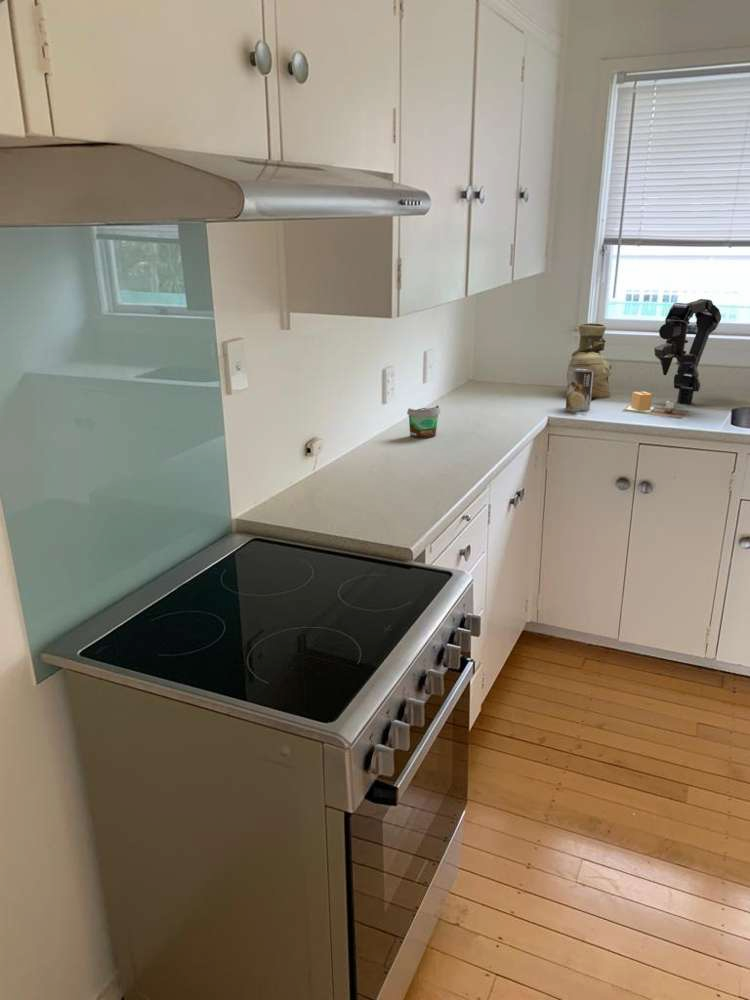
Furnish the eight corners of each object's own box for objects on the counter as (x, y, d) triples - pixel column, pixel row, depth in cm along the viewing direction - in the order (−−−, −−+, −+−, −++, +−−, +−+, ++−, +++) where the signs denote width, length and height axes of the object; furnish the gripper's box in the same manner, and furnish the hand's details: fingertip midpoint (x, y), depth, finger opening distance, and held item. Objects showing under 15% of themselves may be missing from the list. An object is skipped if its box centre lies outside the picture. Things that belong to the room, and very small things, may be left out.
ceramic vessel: (622, 395, 320) (631, 324, 309) (596, 403, 306) (604, 329, 295) (582, 388, 332) (590, 320, 322) (556, 395, 319) (563, 324, 308)
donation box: (630, 407, 294) (632, 391, 292) (642, 406, 295) (644, 391, 293) (638, 410, 289) (640, 394, 287) (650, 409, 291) (652, 393, 288)
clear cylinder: (665, 411, 289) (666, 400, 288) (673, 412, 288) (674, 401, 286) (663, 413, 287) (665, 401, 285) (671, 414, 285) (673, 402, 284)
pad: (631, 405, 298) (631, 404, 298) (654, 408, 294) (654, 407, 294) (625, 410, 291) (625, 409, 291) (649, 413, 287) (649, 412, 287)
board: (629, 406, 301) (630, 404, 301) (687, 413, 291) (688, 411, 290) (621, 413, 290) (621, 411, 289) (681, 421, 279) (681, 418, 279)
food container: (415, 441, 252) (416, 412, 248) (406, 436, 257) (407, 408, 253) (446, 436, 257) (447, 408, 254) (436, 432, 262) (437, 404, 259)
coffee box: (590, 409, 295) (595, 369, 290) (588, 413, 290) (593, 372, 284) (566, 407, 299) (570, 367, 293) (564, 411, 293) (568, 370, 287)
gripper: (645, 334, 292) (640, 373, 298) (674, 341, 276) (668, 383, 281) (670, 333, 295) (664, 372, 301) (700, 340, 278) (693, 381, 284)
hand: (671, 377), depth 291 cm, fingers open, 9 cm apart
